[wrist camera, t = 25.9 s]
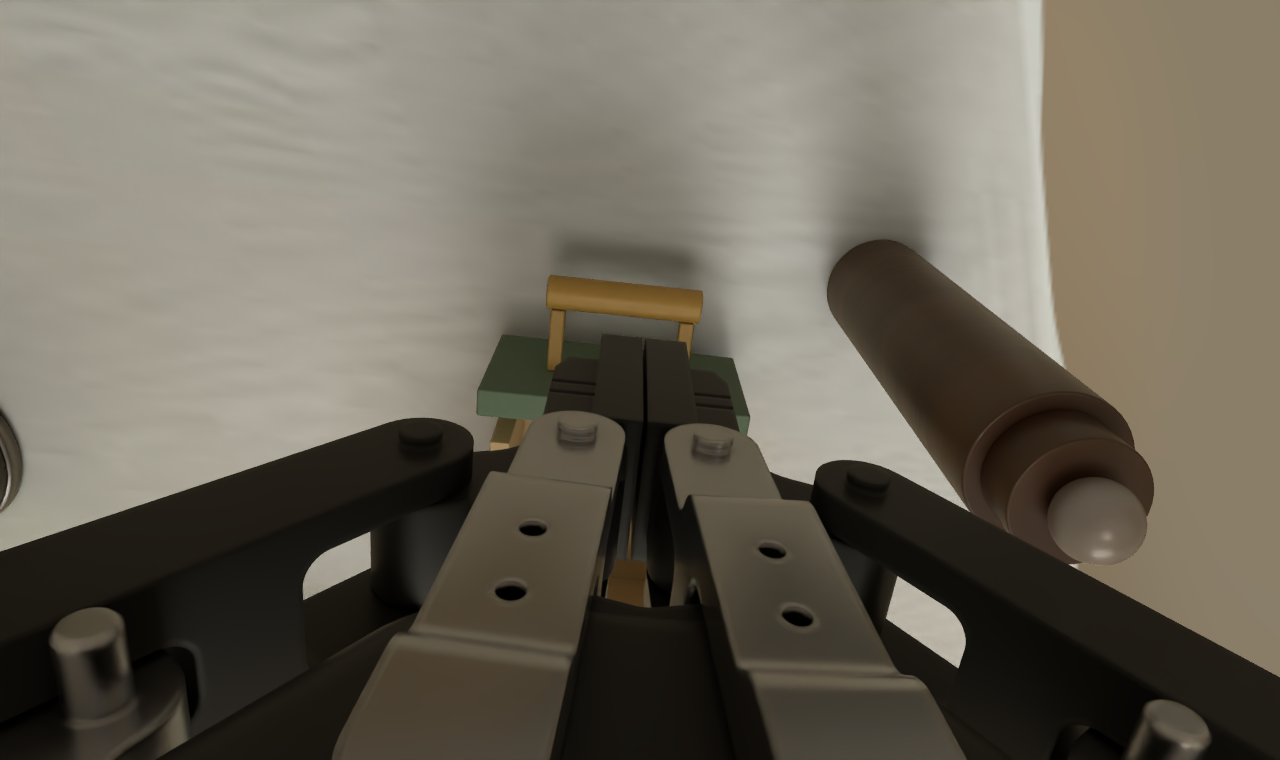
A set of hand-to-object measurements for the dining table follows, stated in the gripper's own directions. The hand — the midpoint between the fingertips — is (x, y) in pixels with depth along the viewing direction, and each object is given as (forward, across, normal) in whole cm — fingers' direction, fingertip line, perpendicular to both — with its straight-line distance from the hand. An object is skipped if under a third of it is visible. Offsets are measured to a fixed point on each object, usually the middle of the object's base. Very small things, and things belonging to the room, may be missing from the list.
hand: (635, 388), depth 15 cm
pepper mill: (+25, -12, +4) cm, 28 cm away
